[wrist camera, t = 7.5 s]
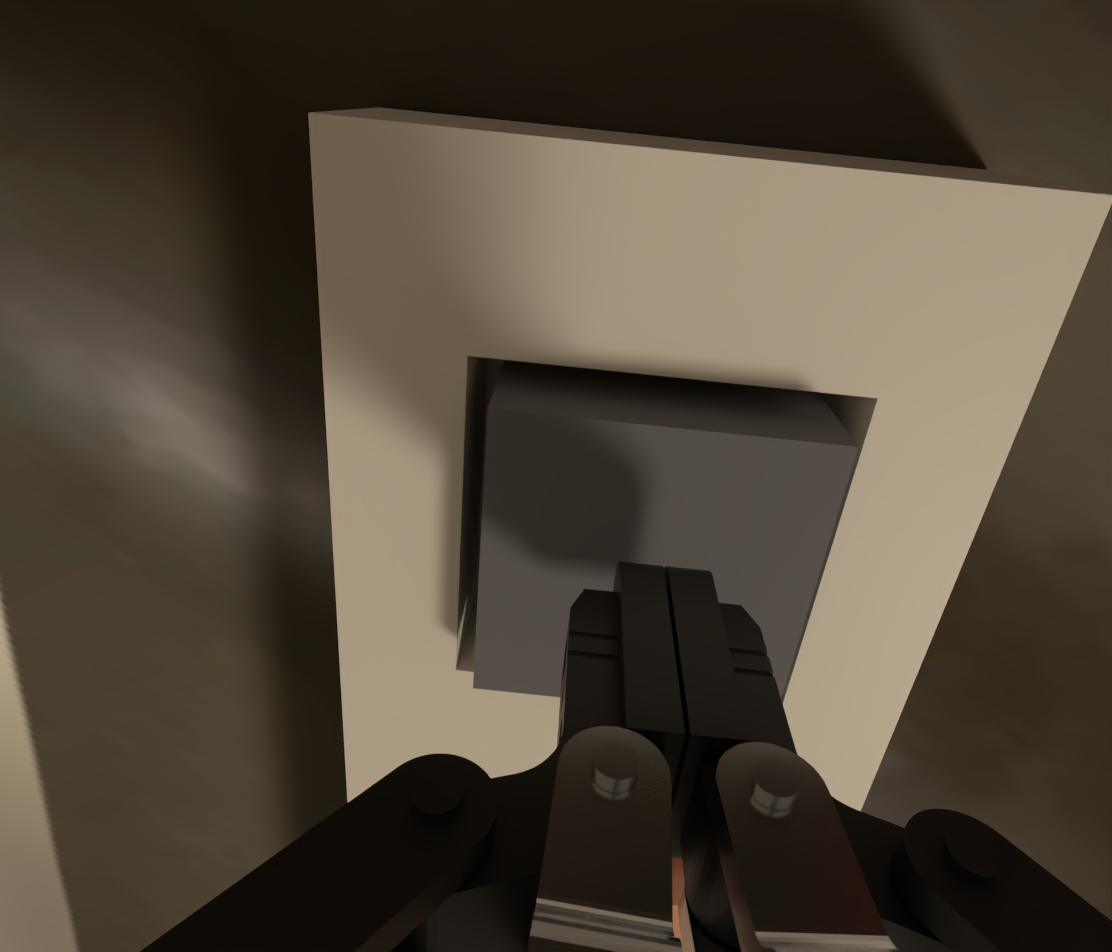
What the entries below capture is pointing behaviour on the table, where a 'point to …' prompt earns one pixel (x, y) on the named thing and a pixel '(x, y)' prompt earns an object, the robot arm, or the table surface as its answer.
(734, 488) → the charcoal key
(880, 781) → the table surface
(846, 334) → the key console
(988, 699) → the table surface
